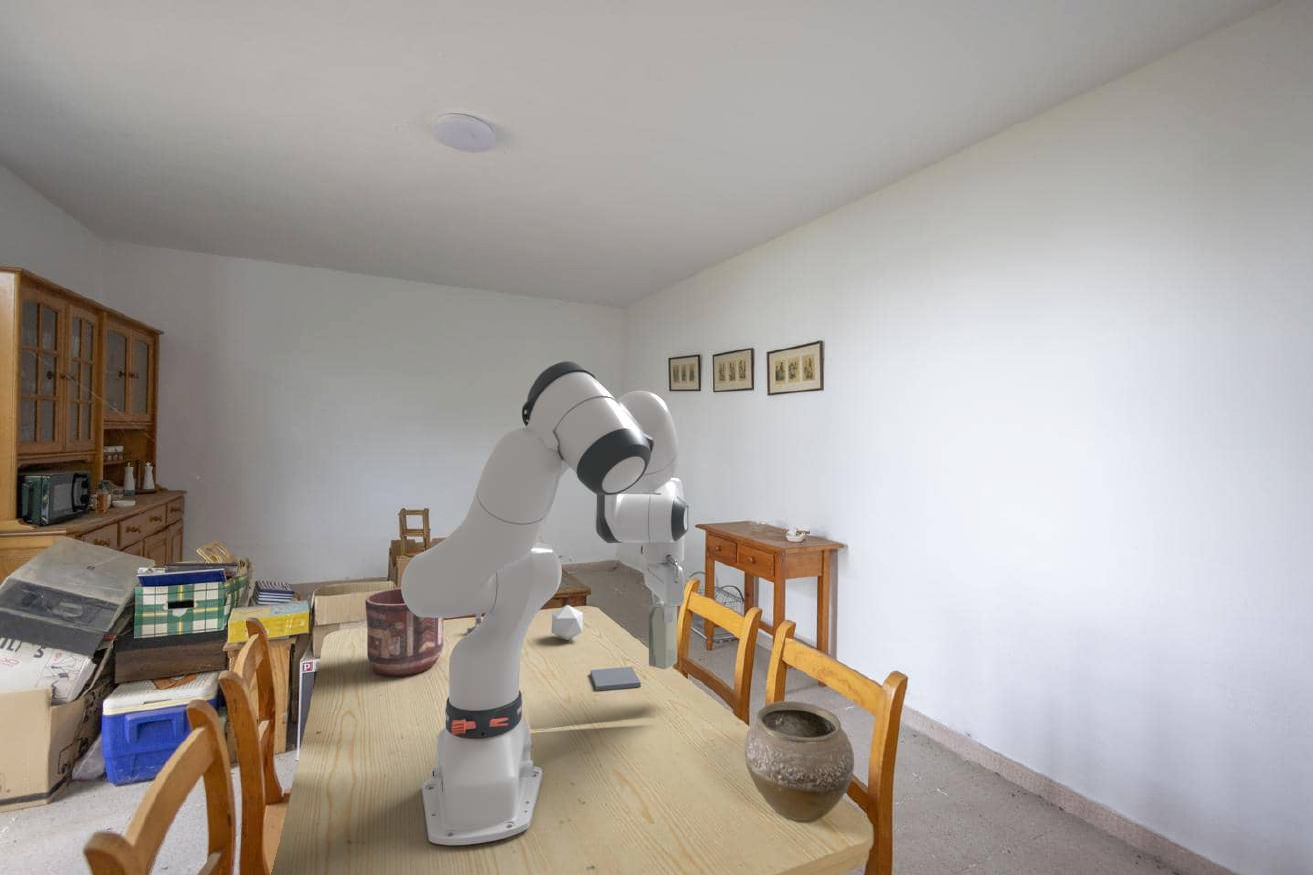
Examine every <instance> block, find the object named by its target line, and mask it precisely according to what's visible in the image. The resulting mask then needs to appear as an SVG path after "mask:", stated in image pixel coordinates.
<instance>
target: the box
mask: <svg viewBox="0 0 1313 875" xmlns="http://www.w3.org/2000/svg"><path fill="white" fill-rule="evenodd" d="M663 613H664V602H663V601H660V602H657V603H655V604H654V603H653V604H651V605H649V606H648V666H649V667H653V668H657V669H661V670H667V669H670V667H672V666H674V665H676V664H677V663H678V606H675V609H674V613H673V622H672V623H665V622H664V621H663Z"/></svg>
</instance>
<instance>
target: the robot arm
mask: <svg viewBox="0 0 1313 875" xmlns="http://www.w3.org/2000/svg"><path fill="white" fill-rule="evenodd" d="M666 404H667V403H666V402H665V401H664V400H663V399H662V398H661V397H660V396H658V395H657V394H655V393H653V392H651V391H647V390H634V391H630V392H627V393H625V394H623V395H622V396H620V397H619V398H618V399H615V397H614V396H613V394H611V392H609V391H608V390H607V389H606V387H604V386H603V385H602V384H601V383H600V382H599V381H598V380H597V378H596V376H595V375H594V374H593V373H592V372H591V371H590V370H588V369H587V368H586V367H585V366H583V365H580V364H578V363H576V362H574V361H568V360H567V361H561V362H557V363H555V364H553V365H551V366H549V367H547V368H545V369H544V370H543V371H542V372H541V373H540V374H539V375H538V376H537V378H536V380H535V381H534V382H533V384H532V386H531V387H530V388H529V392H528V394H527V400H526V401H525V402H524V404H523V405H522V407H521V409H522V410H521V417H522V418H521V419H522V422H523V424H524V426H525V427H522V428H517V429H513V430H511V431H509V432H507V433H505V434H504V435H503V436H502V437H501V438H500V439H499V440H498V442H496V445H495V447H494V448H493V449H492V452H491V453H490V455H489V457H488V459H487V461H486V463H485V465H484V467H483V470H482V471H481V475H480V477H479V481H478V483H477V486H476V488H475V492H474V496H473V499H472V502H471V504H470V507H469V509H468V512H467V515H466V516H465V518H464V520H463V521H462V522H461V524H460V525H458V527H457V528H456V529H455V530H454V531H452V532H451V533H450V534H449V535H448V536H446V538H444V539H443V540H442V541H440V542H438V543H437V544H436V545H434V546H432V547H431V548H429V549H427V550H425V551H422V552H420V553H417V554H415V555H413V557H412V558H411V559H410V560H409V562H408V563H407V564H406V566H405V569H404V570H403V573H402V577H401V580H400V588H401V592H402V597H403V599H404V602H405V604H406V605H407V607H408V608H409V610H410V611H411V612H412V613H413V614H415V615H416V616H418V617H430V618H444V619H451V618H458V617H466V616H471V615H473V616H474V615H476V614H479V613H481V614H484V616H483V617H482V618H481V622H480V624H479V625H478V626H477V627H476V628H475V629H474V630H473V631H472V632H470V633H469V634H467V633H466V635H464V636H463V637H461V639H460V640H459V641H458V642H457V643H456V644H455V645H454V646H453V649H452V651H451V653H450V656H449V666H448V667H449V669H448V670H449V672H448V675H449V676H448V697H447V699H446V701H445V702H446V703H445V708H444V709H445V711H444V717H445V726H444V728H443V729H442V730H441V731H440V732H439V733H437V735H436V756H435V757H436V761H435V763H436V765H435V766H436V768H433V770H432V777H431V778H429V779H426V780H425V781H424V782H422V788H421V795H422V801H423V809H424V815H425V816H424V817H425V822H426V823H425V824H426V832H427V837H428V841H429V842H430V843H433V844H435V845H436V844H437V845H443V846H466V845H473V844H481V843H487V842H493V841H499V840H502V839H505V838H509V837H511V836H514V835H515V836H516V835H517V834H519V833H522V832H524V831H525V830H528V828H529V827H530V825H531V824H532V821H533V820H532V819H533V815H534V811H535V807H536V805H537V804H536V803H537V800H538V796H539V792H540V787H541V784H542V780H543V769H542V768H541V767H539V766H536V765H535V763H534V760H532V759H531V751H533V741H531V725H530V724H529V723H527V722H526V721H524V719H523V718H522V716H523V698H522V697H523V696H522V691H521V690H520V674H521V673H520V672H521V660H522V659H521V657H522V656H521V655H522V650H523V646H524V645H523V644H524V641H525V637H526V634H527V632H528V630H529V627H530V625H531V624H532V622H533V620H534V619H535V617H536V615H537V614H538V612H540V610H541V608H542V607H544V605H545V604H546V603H547V602H548V601H549V600H551V599H552V598H553V597H554V595H555V594H556V593H557V591H558V589H559V587H560V585H561V583H562V577H563V576H562V575H563V571H562V570H563V569H562V562H561V560H560V557H559V555H558V554H557V552H556V550H555V549H554V548H553V547H552V546H551V545H550V544H548V543H543V542H538V541H539V538H540V537H541V534H542V531H543V529H544V526H545V523H546V521H547V519H548V516H549V514H550V511H551V509H552V506H553V503H554V501H555V497H556V495H557V491H558V488H559V483H560V479H561V478H562V476H564V474H565V472H566V471H567V470H569V468H570V469H571V470H572V471H573V472H574V473H575V474H576V477H577V479H578V480H579V481H580V483H581V484H583V486H584V487H585V488H587V489H588V490H590V492H592V493H594V494H595V495H596V508H595V513H594V527H595V531H596V533H597V535H598V536H599V537H600V538H601V539H602V540H603V541H604V542H605V543H606V544H620V543H621V544H622V543H641V545H640V555H641V556H642V567H643V579H644V584H645V587H647V589H649V590H650V591H651V596H652V602H653V604H655V603H657V602H660V601H663V602H664V613H663V621H664V622H665V623H672V622H673V613H674V609H675V606H677V607H680V606H684V602H685V579H684V571H683V568H682V567H681V566H680V565H679V563H682V562H683V561H684V560H685V534H687V532H688V531H689V504H687V503H686V502H685V500H684V498H685V497H684V489H683V485H682V484H683V482H682V480H681V479H680V478H678V477H676V476H674V475H675V473H676V471H677V468H678V465H679V455H680V454H679V451H680V449H679V439H678V433H677V430H676V425H675V423H674V419H673V417H672V414H671V412H670V410H669V408H668V406H667V405H666ZM642 493H643V494H642Z"/></svg>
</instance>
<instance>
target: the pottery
mask: <svg viewBox="0 0 1313 875" xmlns="http://www.w3.org/2000/svg"><path fill="white" fill-rule="evenodd" d="M365 613H366V629H367V633H366V634H367V637H366V638H367V640H366V641H367V642H366V644H367V647H366V652H367V653H366V654H367V658H368V661H369V663H370V666H371V668H372V669H373V671H374V672H375V673H377V674H379V675H380V676H381V675H382V676H383V677H392V678H395V677H396V678H397V677H399V678H401V677H411V676H414V675H415V676H416V675H419V674H421V673H424V672H426V671H428V670H431V668H432V667H433V666H434V665H435V664H436V663H437V661H438V660H439V658H440V657H441V655H442V652H443V650H444V620H445V618H430V617H418V616H416V615H415V614H413V613H412V612H411V611H410V610H409V608H408V607H407V605H406V604H405V602H404V599H403V597H402V592H401V587H399V588H392V589H391V588H390V589H387V590H383V591H378V592H375V593H373V594H371V595H369V596H367V597H366V599H365Z"/></svg>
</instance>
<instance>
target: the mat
mask: <svg viewBox="0 0 1313 875" xmlns="http://www.w3.org/2000/svg"><path fill="white" fill-rule="evenodd" d="M590 676H591V679H592V683H593V685H594V688H595V690H596V692H599V691H600V692H601V691H610V690H611V691H612V690H622V689H623V690H624V689H634V688H641V681H640V680H641V679H639V677H638V675H637V673H636V672H635V670H634V668H633V667H632V666H624V667H613V668H610V667H609V668H599V669H590Z"/></svg>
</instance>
